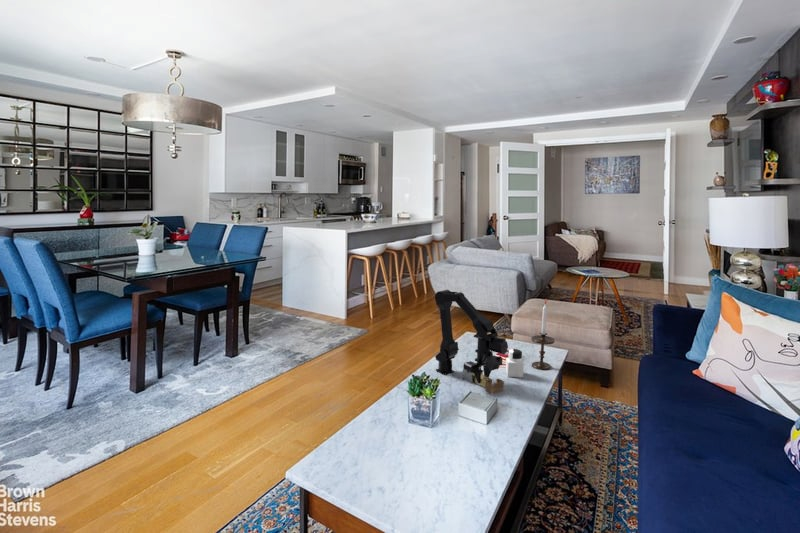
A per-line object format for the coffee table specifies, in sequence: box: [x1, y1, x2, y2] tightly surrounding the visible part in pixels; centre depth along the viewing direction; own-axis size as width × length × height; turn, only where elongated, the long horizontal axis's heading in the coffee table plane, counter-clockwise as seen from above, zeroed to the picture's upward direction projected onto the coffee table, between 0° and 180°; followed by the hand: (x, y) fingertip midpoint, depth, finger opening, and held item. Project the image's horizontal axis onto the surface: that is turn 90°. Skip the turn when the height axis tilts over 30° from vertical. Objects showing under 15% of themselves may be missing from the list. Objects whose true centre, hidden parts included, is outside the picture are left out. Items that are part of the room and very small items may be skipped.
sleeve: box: [462, 368, 484, 384], centre depth 201 cm, size 6×7×5 cm
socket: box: [485, 378, 505, 395], centre depth 189 cm, size 4×7×4 cm, turn 123°
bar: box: [470, 372, 493, 389], centre depth 198 cm, size 13×4×3 cm, turn 33°
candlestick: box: [531, 298, 556, 371], centre depth 215 cm, size 11×11×35 cm
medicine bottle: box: [505, 348, 525, 378], centre depth 207 cm, size 7×7×12 cm
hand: (482, 381), depth 196 cm, fingers closed on bar, 4 cm apart
